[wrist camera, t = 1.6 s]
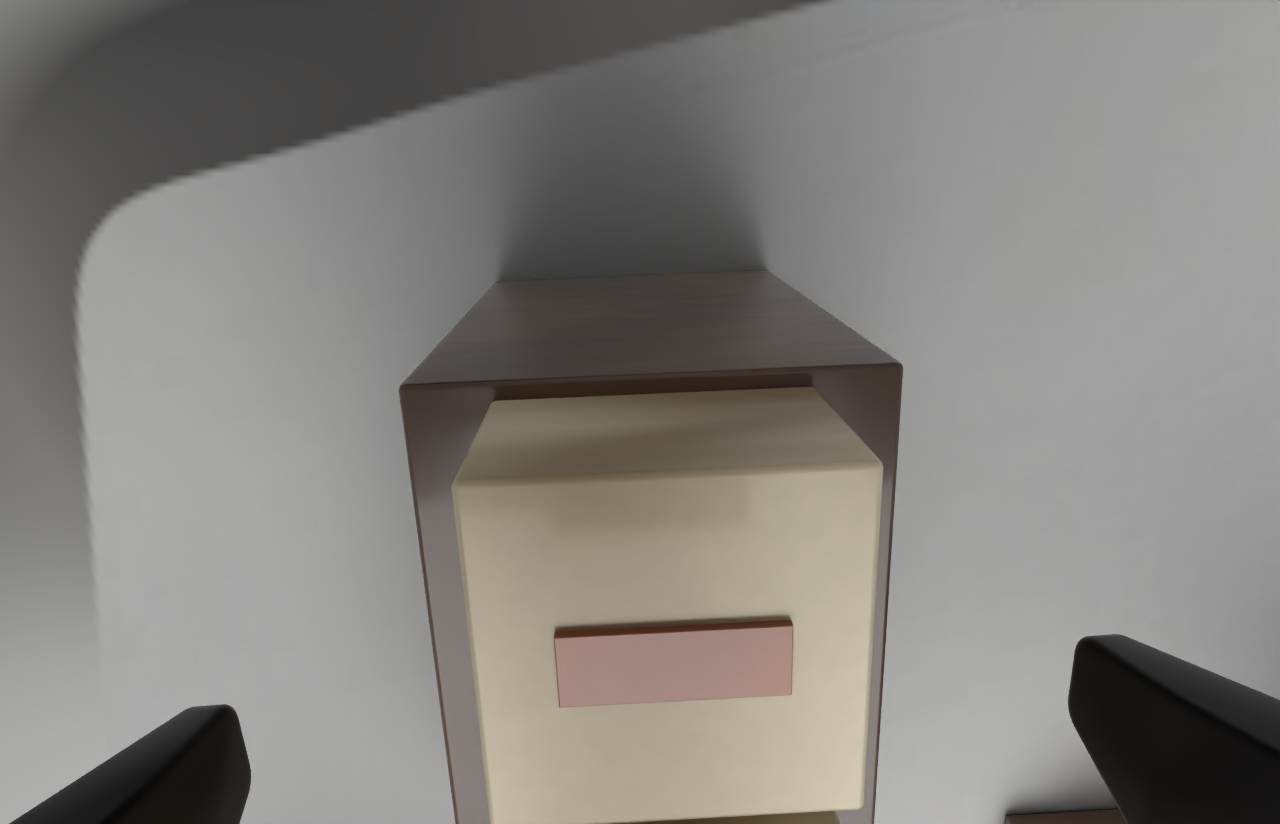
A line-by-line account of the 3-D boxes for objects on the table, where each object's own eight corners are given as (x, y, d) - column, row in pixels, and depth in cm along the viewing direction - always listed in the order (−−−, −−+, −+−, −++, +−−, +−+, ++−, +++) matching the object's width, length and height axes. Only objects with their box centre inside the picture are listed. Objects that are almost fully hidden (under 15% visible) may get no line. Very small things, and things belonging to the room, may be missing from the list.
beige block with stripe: (815, 384, 11) (890, 465, 8) (806, 663, 13) (868, 819, 10) (490, 399, 11) (447, 487, 8) (517, 678, 12) (488, 842, 9)
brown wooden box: (768, 269, 21) (1013, 437, 8) (762, 791, 26) (908, 1391, 13) (495, 280, 20) (317, 469, 8) (541, 803, 25) (477, 1424, 13)
